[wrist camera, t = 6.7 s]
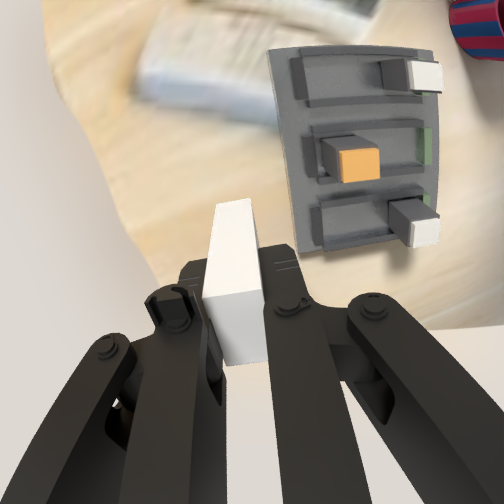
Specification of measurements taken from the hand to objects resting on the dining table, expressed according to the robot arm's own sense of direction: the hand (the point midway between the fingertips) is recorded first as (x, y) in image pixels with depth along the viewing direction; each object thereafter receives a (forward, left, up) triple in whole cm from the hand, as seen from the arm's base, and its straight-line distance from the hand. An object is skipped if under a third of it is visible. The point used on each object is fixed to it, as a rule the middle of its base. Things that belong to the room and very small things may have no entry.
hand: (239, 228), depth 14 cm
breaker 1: (-6, +14, -10) cm, 18 cm away
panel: (0, +11, -12) cm, 16 cm away
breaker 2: (+6, +14, -10) cm, 18 cm away
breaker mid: (0, +8, -10) cm, 13 cm away
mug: (-14, +24, -12) cm, 30 cm away
